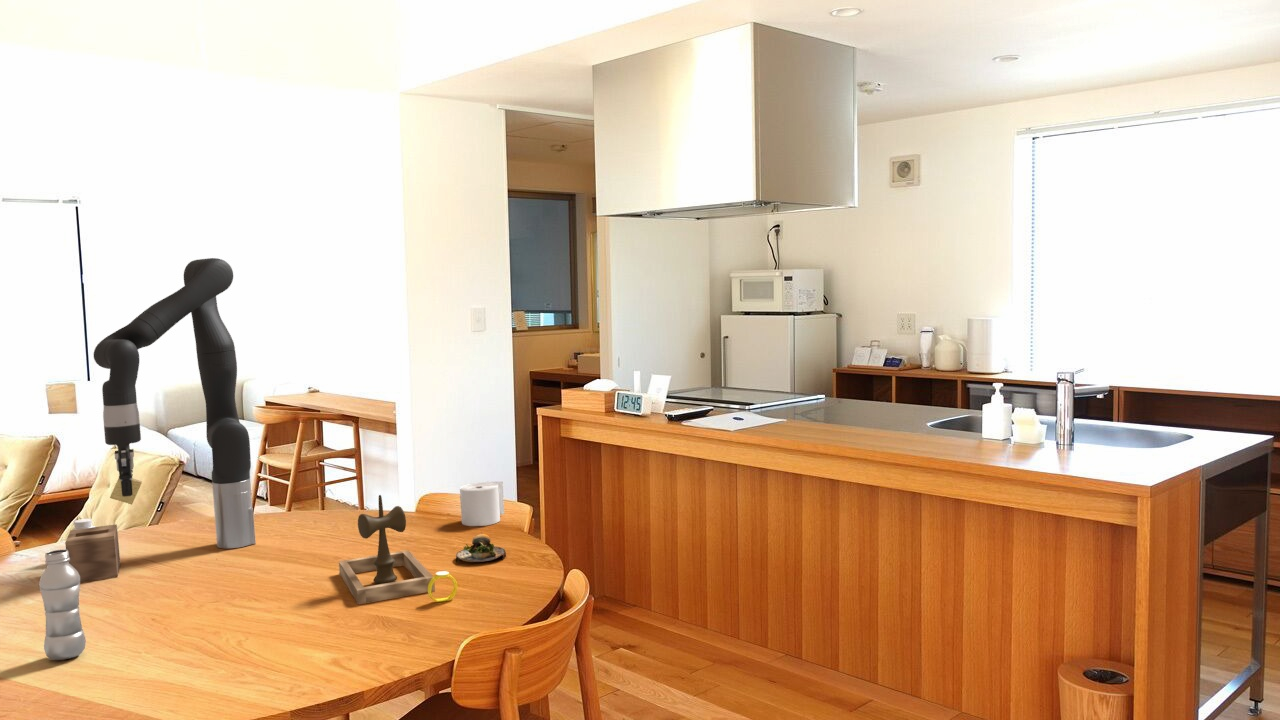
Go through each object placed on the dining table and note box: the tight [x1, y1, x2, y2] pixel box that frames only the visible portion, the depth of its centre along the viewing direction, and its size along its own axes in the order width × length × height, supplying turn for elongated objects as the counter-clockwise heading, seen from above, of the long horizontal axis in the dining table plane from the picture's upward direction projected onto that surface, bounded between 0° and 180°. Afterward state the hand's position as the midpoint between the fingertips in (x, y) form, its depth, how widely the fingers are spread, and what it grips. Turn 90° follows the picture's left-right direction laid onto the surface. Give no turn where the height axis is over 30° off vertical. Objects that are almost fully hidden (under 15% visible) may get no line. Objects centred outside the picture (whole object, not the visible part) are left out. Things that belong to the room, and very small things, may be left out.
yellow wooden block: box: [109, 477, 143, 505], centre depth 230 cm, size 5×2×6 cm, turn 117°
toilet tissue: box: [459, 481, 505, 527], centre depth 269 cm, size 11×12×10 cm
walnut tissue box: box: [64, 524, 121, 584], centre depth 233 cm, size 10×13×10 cm
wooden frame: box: [338, 550, 436, 605], centre depth 217 cm, size 16×25×3 cm, turn 26°
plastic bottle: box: [38, 548, 87, 661], centre depth 178 cm, size 6×7×20 cm
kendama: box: [357, 494, 407, 585], centre depth 216 cm, size 6×10×20 cm, turn 129°
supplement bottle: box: [72, 518, 96, 530], centre depth 246 cm, size 6×6×10 cm
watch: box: [427, 570, 458, 603], centre depth 202 cm, size 6×3×6 cm, turn 121°
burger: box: [455, 533, 507, 563], centre depth 232 cm, size 12×12×8 cm
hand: (127, 494), depth 230 cm, fingers closed on yellow wooden block, 2 cm apart
